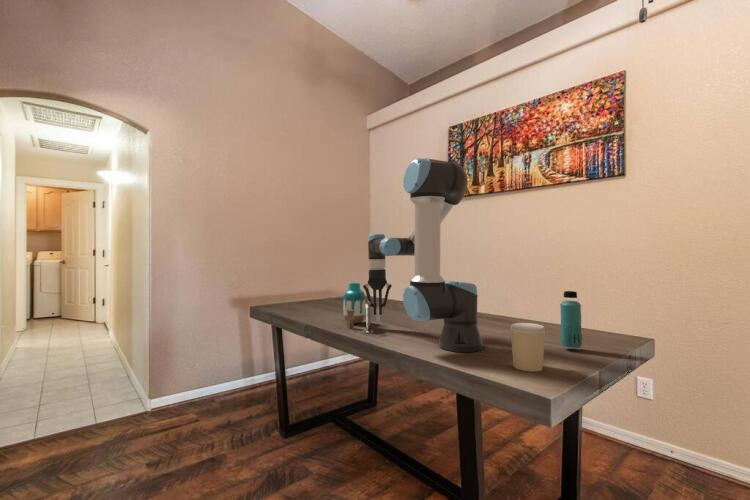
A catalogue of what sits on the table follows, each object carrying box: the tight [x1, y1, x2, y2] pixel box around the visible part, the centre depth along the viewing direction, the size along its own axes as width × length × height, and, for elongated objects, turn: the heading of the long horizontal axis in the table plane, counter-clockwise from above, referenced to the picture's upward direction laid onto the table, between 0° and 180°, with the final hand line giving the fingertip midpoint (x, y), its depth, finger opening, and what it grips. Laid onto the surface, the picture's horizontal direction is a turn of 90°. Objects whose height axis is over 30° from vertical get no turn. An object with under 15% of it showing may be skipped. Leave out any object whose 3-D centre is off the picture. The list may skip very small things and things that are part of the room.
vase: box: [342, 282, 367, 325], centre depth 172 cm, size 11×11×19 cm
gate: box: [365, 303, 368, 330], centre depth 159 cm, size 12×2×9 cm, turn 5°
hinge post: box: [364, 300, 375, 334], centre depth 152 cm, size 4×4×13 cm
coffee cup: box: [509, 322, 546, 372], centre depth 105 cm, size 9×9×12 cm
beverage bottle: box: [559, 290, 583, 349], centre depth 123 cm, size 6×7×20 cm
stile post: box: [346, 309, 355, 330], centre depth 161 cm, size 3×3×8 cm
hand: (378, 322), depth 160 cm, fingers closed
